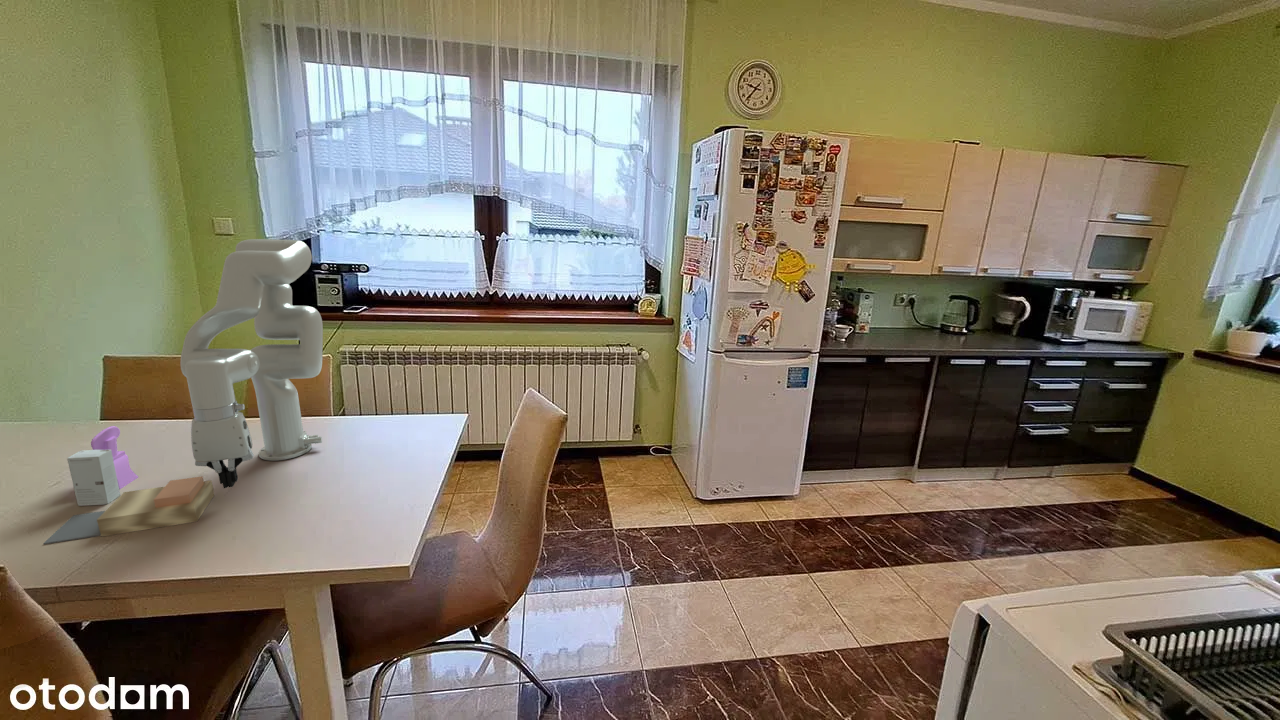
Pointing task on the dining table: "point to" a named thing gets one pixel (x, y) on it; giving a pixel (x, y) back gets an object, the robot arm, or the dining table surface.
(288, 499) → the dining table surface
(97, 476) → the skincare box
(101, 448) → the purple flanged fixture
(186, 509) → the board
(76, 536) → the mat
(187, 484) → the tile
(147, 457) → the dining table surface
